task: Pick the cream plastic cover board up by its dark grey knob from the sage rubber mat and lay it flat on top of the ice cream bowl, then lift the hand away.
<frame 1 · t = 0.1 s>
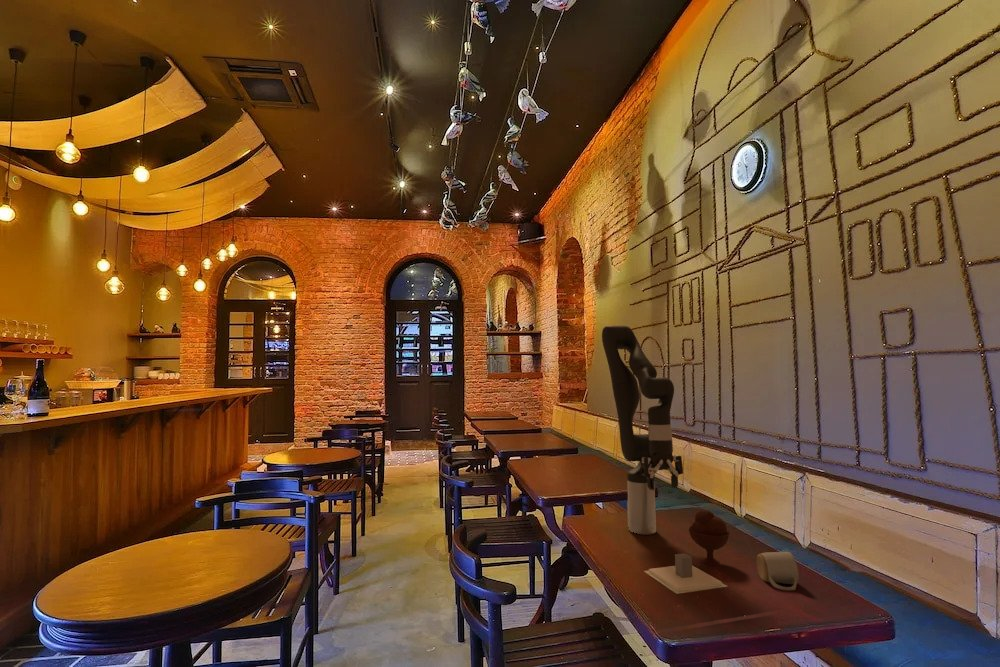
hand: (663, 488, 165), 17 cm above the table, tool pointing down, fingers open, 8 cm apart
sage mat: (684, 580, 134), on the table
ice cream bowl: (710, 564, 145), on the table
cover board: (684, 578, 134), point 1 cm above the table, touching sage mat
ceramic mug: (780, 585, 131), on the table
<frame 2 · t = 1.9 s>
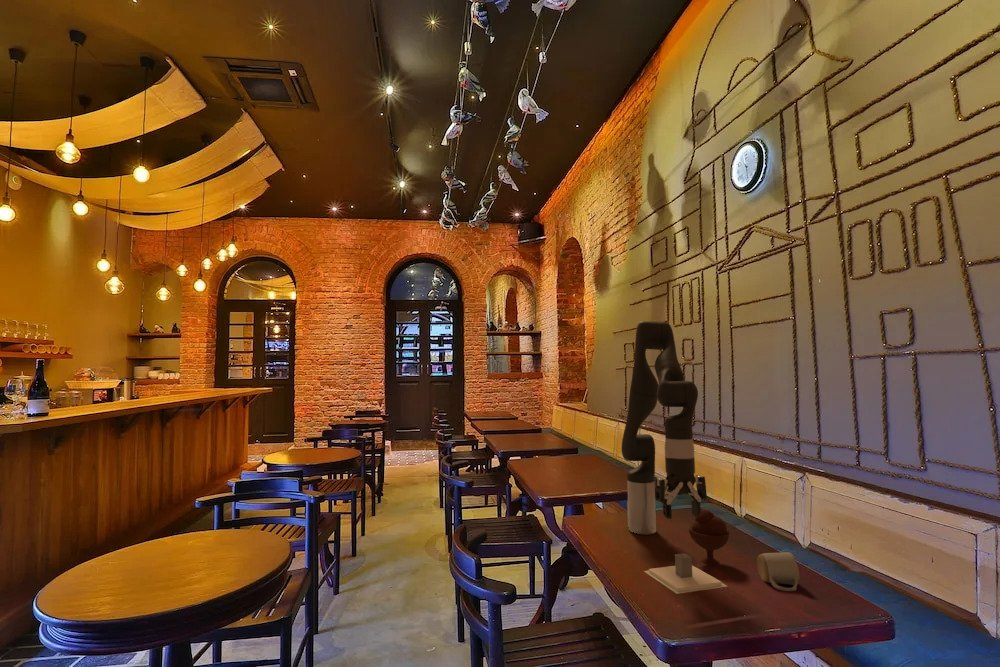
hand: (682, 516, 135), 16 cm above the table, tool pointing down, fingers open, 8 cm apart
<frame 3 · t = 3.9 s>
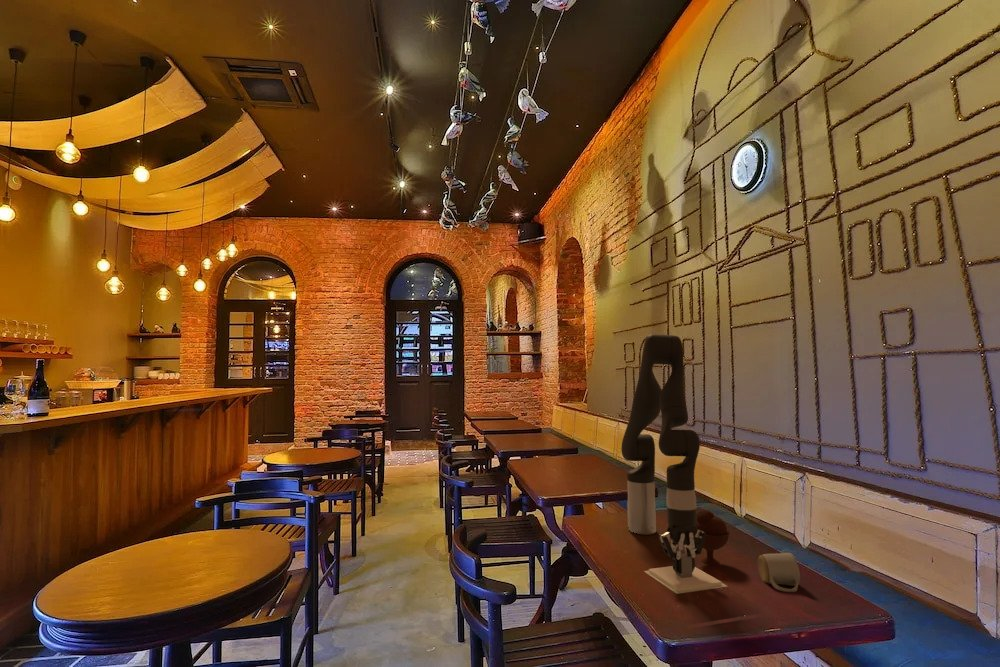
hand: (683, 571, 134), 2 cm above the table, tool pointing down, fingers closed on cover board, 3 cm apart
cover board: (684, 578, 134), point 1 cm above the table, touching gripper, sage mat
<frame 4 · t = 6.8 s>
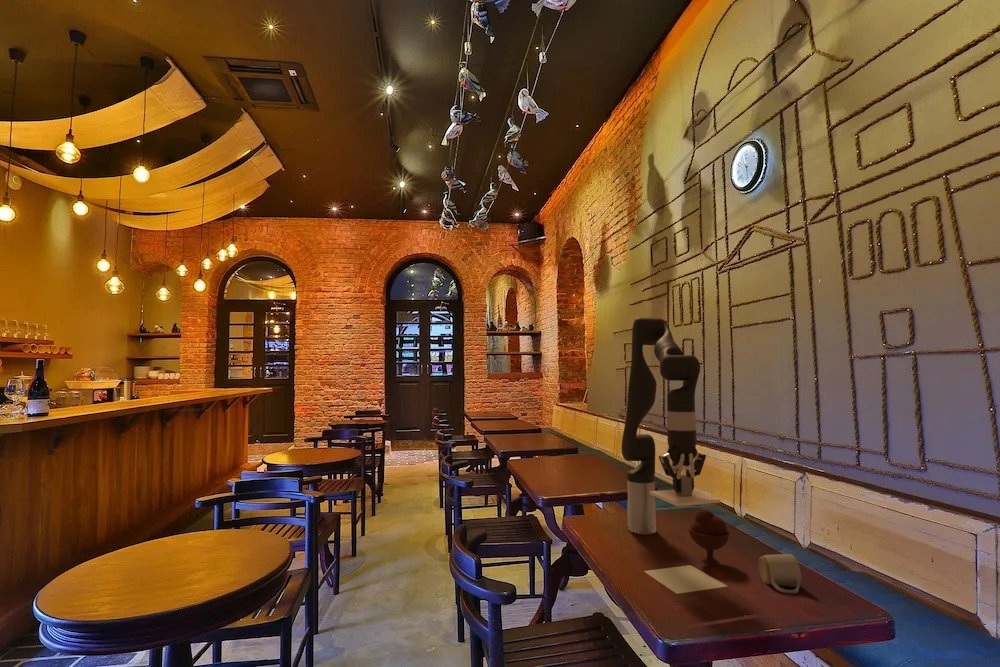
hand: (683, 491, 138), 23 cm above the table, tool pointing down, fingers closed on cover board, 3 cm apart
cover board: (683, 498, 137), point 21 cm above the table, touching gripper
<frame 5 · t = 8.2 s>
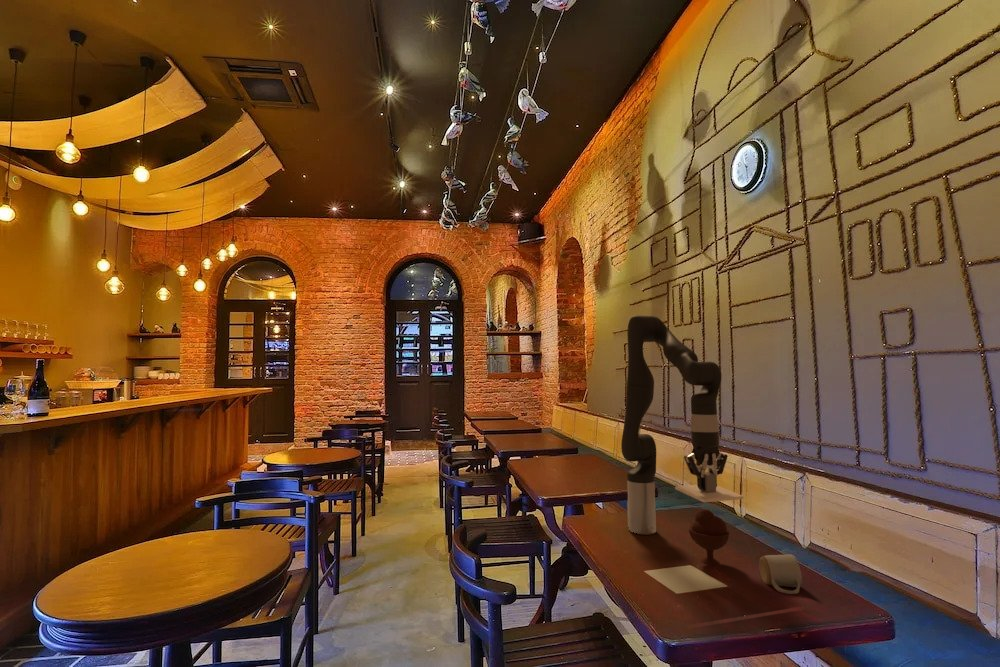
hand: (707, 489, 147), 21 cm above the table, tool pointing down, fingers closed on cover board, 3 cm apart
cover board: (708, 493, 147), point 20 cm above the table, touching gripper
when the fingers open (18 cm above the table, at t = 9.4 s): cover board drops 2 cm, resting on ice cream bowl.
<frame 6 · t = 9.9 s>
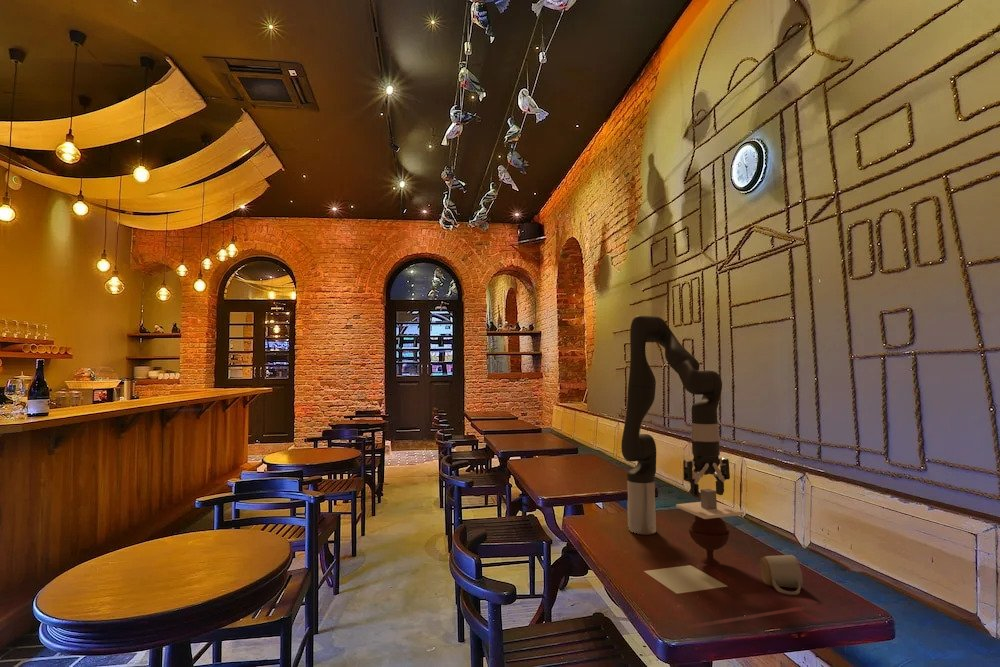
hand: (707, 495, 147), 19 cm above the table, tool pointing down, fingers open, 8 cm apart
ice cream bowl: (710, 564, 145), on the table, touching cover board
cover board: (709, 510, 146), point 15 cm above the table, touching ice cream bowl
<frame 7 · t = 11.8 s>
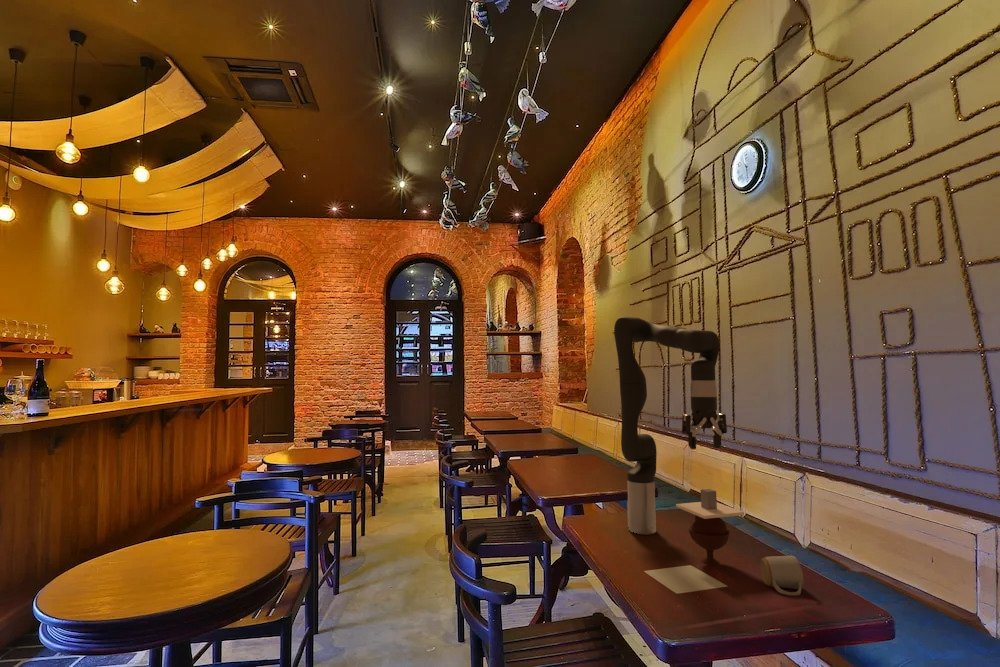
hand: (705, 448, 155), 32 cm above the table, tool pointing down, fingers open, 8 cm apart
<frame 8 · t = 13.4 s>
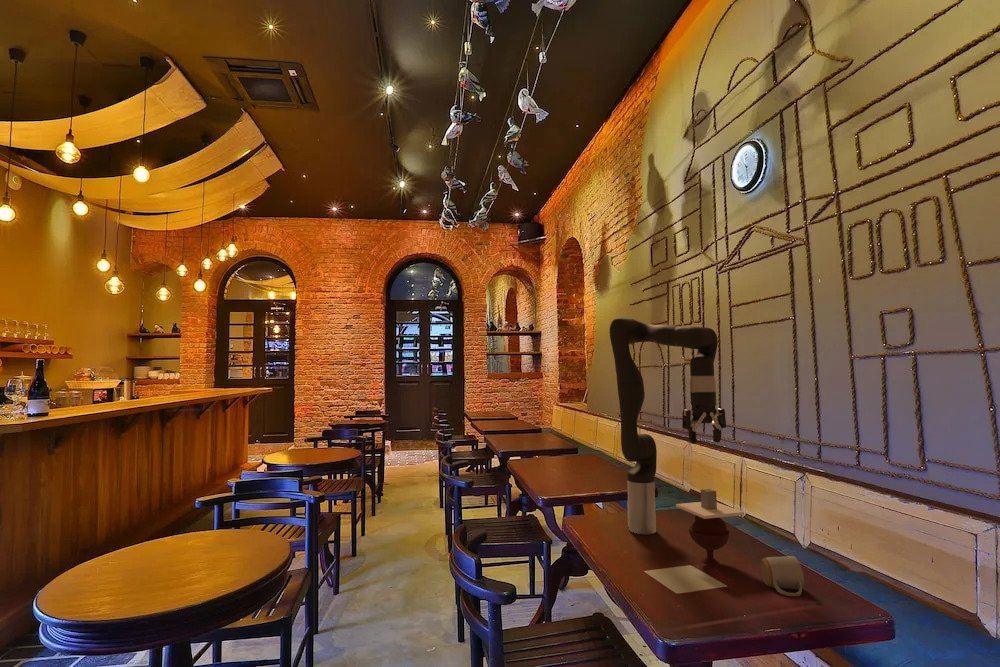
hand: (705, 442, 157), 33 cm above the table, tool pointing down, fingers open, 8 cm apart
at the end: cover board 0.3 cm from the ice cream bowl (horizontally); cover board point 15.0 cm above the table; cover board touching ice cream bowl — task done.
